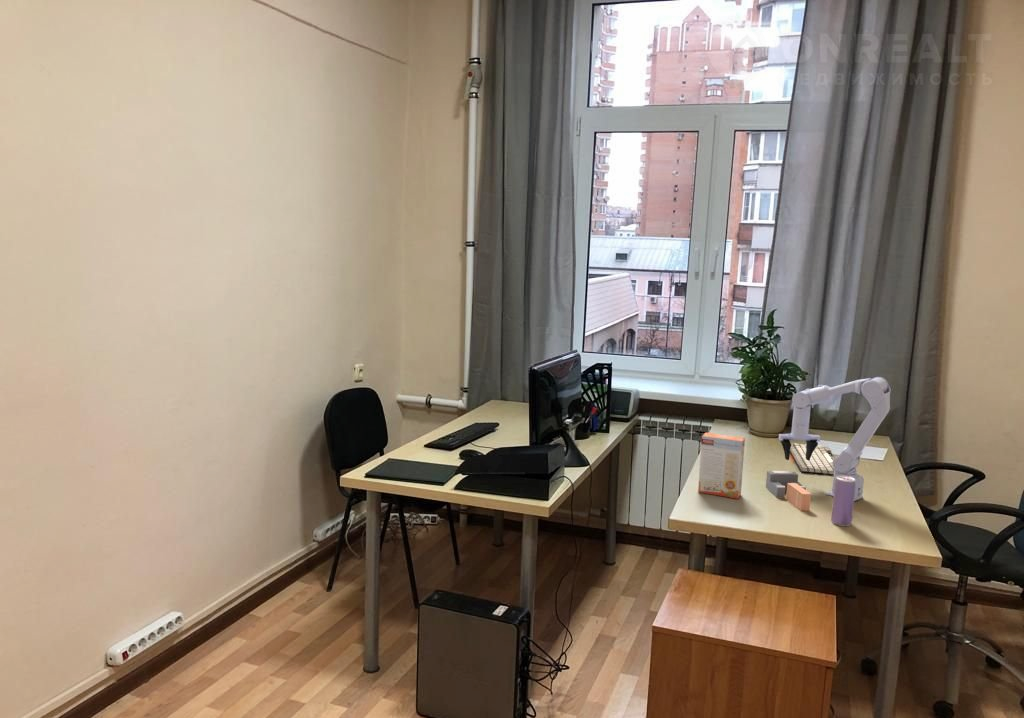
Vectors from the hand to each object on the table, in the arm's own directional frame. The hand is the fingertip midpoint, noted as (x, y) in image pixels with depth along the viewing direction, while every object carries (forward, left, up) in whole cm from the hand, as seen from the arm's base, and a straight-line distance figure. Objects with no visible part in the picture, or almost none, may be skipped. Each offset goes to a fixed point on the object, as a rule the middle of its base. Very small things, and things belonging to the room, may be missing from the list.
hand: (797, 459), depth 275 cm
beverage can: (-29, +24, -10) cm, 39 cm away
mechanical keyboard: (+10, -34, -10) cm, 37 cm away
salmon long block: (-12, +20, -10) cm, 25 cm away
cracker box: (+11, +32, -10) cm, 35 cm away
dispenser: (-3, +12, -9) cm, 16 cm away
